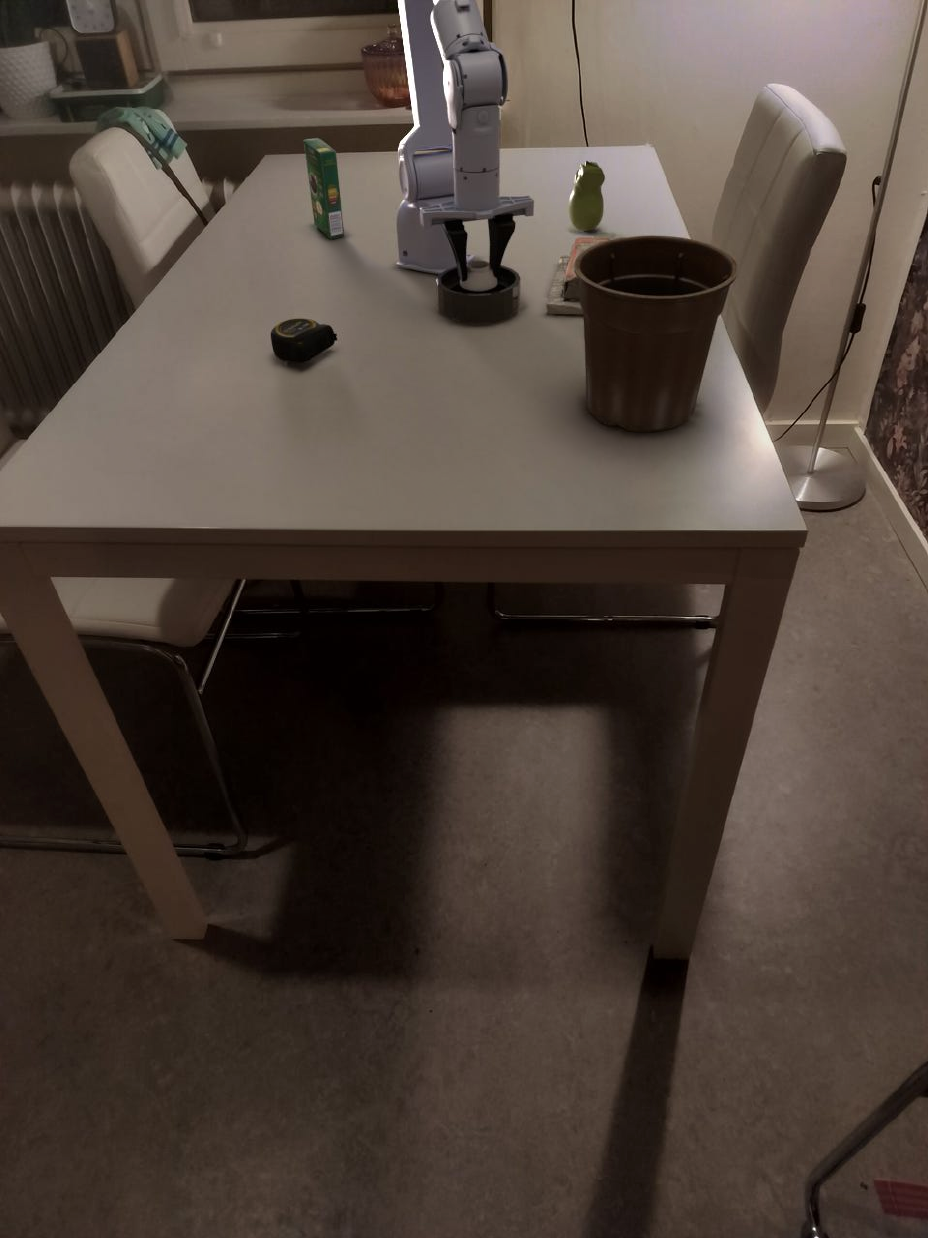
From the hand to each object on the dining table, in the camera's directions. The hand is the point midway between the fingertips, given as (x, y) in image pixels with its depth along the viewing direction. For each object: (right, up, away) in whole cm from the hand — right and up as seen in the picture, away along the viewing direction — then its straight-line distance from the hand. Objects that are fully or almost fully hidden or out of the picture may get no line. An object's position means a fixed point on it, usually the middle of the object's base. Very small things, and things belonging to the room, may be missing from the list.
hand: (478, 276), depth 117 cm
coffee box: (-24, +18, +28) cm, 41 cm away
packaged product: (+16, 0, +7) cm, 17 cm away
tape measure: (-22, -13, -6) cm, 26 cm away
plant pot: (+18, -22, -18) cm, 33 cm away
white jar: (0, -1, +1) cm, 2 cm away
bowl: (0, -3, +3) cm, 4 cm away
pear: (+18, +17, +25) cm, 35 cm away
